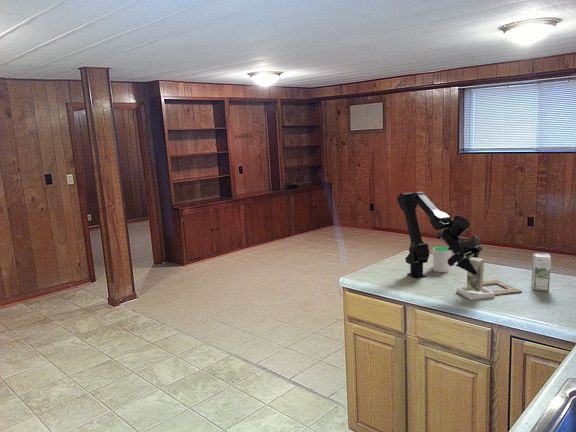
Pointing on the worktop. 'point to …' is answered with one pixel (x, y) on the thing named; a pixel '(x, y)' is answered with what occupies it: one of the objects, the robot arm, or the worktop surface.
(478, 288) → the box
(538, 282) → the syrup box
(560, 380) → the worktop surface
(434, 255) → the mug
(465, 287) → the white tray
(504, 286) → the walnut frame
